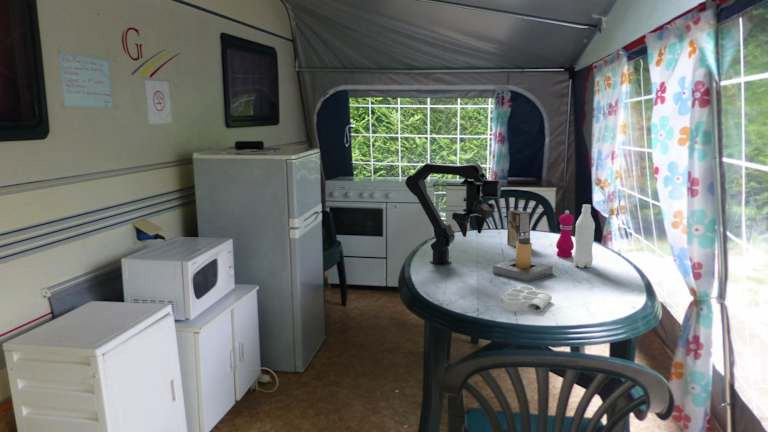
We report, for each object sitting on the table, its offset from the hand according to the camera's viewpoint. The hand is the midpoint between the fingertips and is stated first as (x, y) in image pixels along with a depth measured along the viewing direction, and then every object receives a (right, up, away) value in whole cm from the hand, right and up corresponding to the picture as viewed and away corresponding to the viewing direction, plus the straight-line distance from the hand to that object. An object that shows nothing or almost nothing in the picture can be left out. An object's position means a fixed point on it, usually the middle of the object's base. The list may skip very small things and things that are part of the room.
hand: (472, 235), depth 210 cm
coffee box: (+27, -6, +36) cm, 46 cm away
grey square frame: (+18, -14, -6) cm, 24 cm away
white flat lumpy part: (+10, -21, -38) cm, 45 cm away
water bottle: (+45, -13, +2) cm, 46 cm away
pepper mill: (+43, -10, +18) cm, 47 cm away
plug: (+18, -14, -6) cm, 24 cm away
